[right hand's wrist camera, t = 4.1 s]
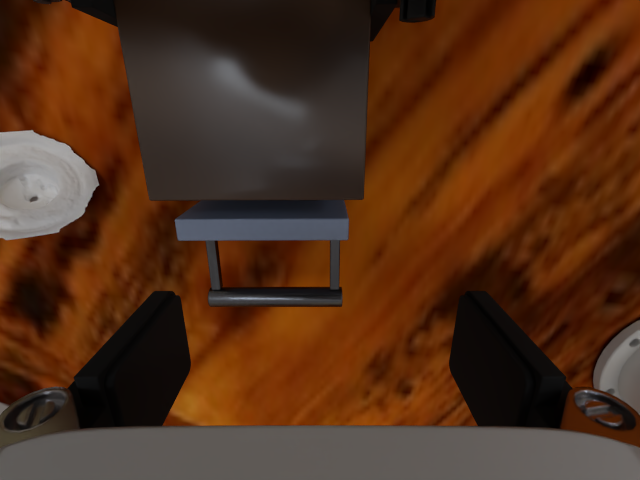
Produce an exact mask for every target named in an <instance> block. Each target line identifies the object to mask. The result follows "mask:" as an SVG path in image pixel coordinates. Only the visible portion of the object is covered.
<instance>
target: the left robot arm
mask: <svg viewBox="0 0 640 480" xmlns="http://www.w3.org/2000/svg"><path fill="white" fill-rule="evenodd" d="M33 1H34V2H37V3H42V4H51V2H60V1H62V0H33ZM66 1H68V2H70V3H71V5H72V8H75V9H77V10H79V11H82V12H84V13H86V14H89V15H91V16H93V17H96V18H98V19H100V20H103V21H105V22H107V23H110V24H112V25H114V26H117V27H118V24H117V19H116V13H115V8H114V2H113V0H66ZM435 6H436V0H371V25H370V41H373V40H374V38H375V37H376V35H377V34H378V32H379V31H380V29H381V28H382V26H383V25H384V23H385V22H386V20H387V19H388V17H389V16H390V14H391V13H392V11H393V9H394V8H400V17H399V21H402V22H411V23H415V22H423V21H428V20H431V19H433V18H434V17H435Z"/></svg>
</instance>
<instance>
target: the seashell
mask: <svg viewBox="0 0 640 480" xmlns="http://www.w3.org/2000/svg"><path fill="white" fill-rule="evenodd" d="M97 186H99V183H98V179H97V175H96V171H95V170H93V169H92V168H90V167H89V166H88V165H87V164H86V163H85V161H84V160H83V159H82V158H80V157H79V156H78V155H76V154H75V153H73V151H72V150H71V148H70V147H69V146H68V145H66V144H65V143H60V142H57V141H55V140H54V139H50V138H47V137H45V136H40V135H39V134H36V133H34V131H33V130H30V131H16V132H0V238H4V239H5V240H11V239H20V238H27V237H33V236H40V235H46V234H52V233H57V232H59V230H60V229H61V228H62V227H64V226H66V225H67V224H69V223H70V222H73V221H74V220H76V219H78V218H79V217H81V216H82V215H83V214H84V212H85V207H87V206H88V202H89V201H90V198H91V197H92V193H93V191H94V190H95V189H96V187H97Z"/></svg>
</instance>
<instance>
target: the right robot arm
mask: <svg viewBox="0 0 640 480" xmlns="http://www.w3.org/2000/svg"><path fill="white" fill-rule="evenodd" d="M190 366H191V360H190V354H189V347H188V341H187V335H186V329H185V322H184V316H183V310H182V304H181V299H180V296H178V295H175V293H174V292H173V291H154V292H153V293H152V294H151V295H150V296H149V297H148V298H147V299H146V300H145V302H144V303H143V304H142V305H141V306H140V307H139V308H138V309H137V310H136V311H135V312H134V313H133V314H132V315H131V317H130V318H129V319H128V320H127V321H126V322H125V323H124V324H123V325H122V326H121V327H120V328H119V329H118V330H117V332H116V333H115V334H114V335H113V336H112V337H111V338H110V339H109V340H108V341H107V342H106V343H105V344H104V345H103V347H102V348H101V349H100V350H99V351H98V352H97V353H96V354H95V355H94V356H93V357H92V358H91V359H90V360H89V362H88V363H87V364H86V365H85V366H84V367H83V368H82V369H81V370H80V371H79V372H78V373H77V374H76V375H75V377H74V380H75V381H74V382H73V383H72V384H71V385H70V386H69V387H68V388H64V387H51V388H45V389H42V390H39V391H35V392H33V393H31V394H29V395H26V396H24V397H22V398H21V399H19V400H18V401H16V402H14V403H13V404H11V405H10V406H9V407H8V408H7V409H6V410H4V411H3V412H2V414H1V415H0V480H640V320H638V321H636V322H634V323H633V324H631V325H630V326H628V327H627V328H625V329H624V330H622V331H621V332H620V333H619V334H618V335H617V336H616V337H614V338H613V339H612V340H611V342H610V343H609V344H608V345H607V346H606V347H605V349H604V350H603V352H602V354H601V355H600V357H599V359H598V361H597V364H596V366H595V369H594V375H593V385H594V388H589V387H576V388H572V387H571V386H570V385H569V384H568V383H567V382H566V381H565V380H566V377H565V375H564V374H563V373H562V372H561V371H560V370H559V369H558V368H557V367H556V366H555V365H554V364H553V363H552V362H551V360H550V359H549V358H548V357H547V356H546V355H545V354H544V353H543V352H542V351H541V350H540V349H539V348H538V347H537V345H536V344H535V343H534V342H533V341H532V340H531V339H530V338H529V337H528V336H527V335H526V334H525V333H524V332H523V330H522V329H521V328H520V327H519V326H518V325H517V324H516V323H515V322H514V321H513V320H512V319H511V318H510V317H509V315H508V314H507V313H506V312H505V311H504V310H503V309H502V308H501V307H500V306H499V305H498V304H497V303H496V302H495V300H494V299H493V298H492V297H491V296H490V295H489V294H488V293H487V292H486V291H467V292H466V293H465V295H462V296H460V299H459V304H458V310H457V316H456V322H455V329H454V335H453V341H452V347H451V354H450V360H449V366H450V371H451V374H452V376H453V378H454V380H455V381H456V383H457V385H458V387H459V389H460V391H461V393H462V395H463V397H464V399H465V401H466V403H467V405H468V407H469V409H470V411H471V413H472V415H473V417H474V419H475V421H476V423H477V425H478V426H162V425H163V423H164V421H165V419H166V417H167V415H168V413H169V411H170V409H171V407H172V405H173V403H174V401H175V399H176V397H177V395H178V393H179V391H180V389H181V387H182V385H183V383H184V381H185V379H186V378H187V376H188V374H189V371H190Z"/></svg>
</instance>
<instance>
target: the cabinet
mask: <svg viewBox="0 0 640 480" xmlns="http://www.w3.org/2000/svg"><path fill="white" fill-rule="evenodd" d="M113 2H114V8H115V13H116V19H117V24H118V30H119V35H120V41H121V46H122V52H123V57H124V63H125V68H126V74H127V79H128V85H129V90H130V96H131V101H132V107H133V112H134V118H135V123H136V129H137V134H138V140H139V145H140V151H141V156H142V162H143V167H144V173H145V178H146V184H147V189H148V195H149V199H150V200H151V201H178V200H363V199H364V179H365V153H366V127H367V102H368V76H369V50H370V25H371V0H113Z"/></svg>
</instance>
